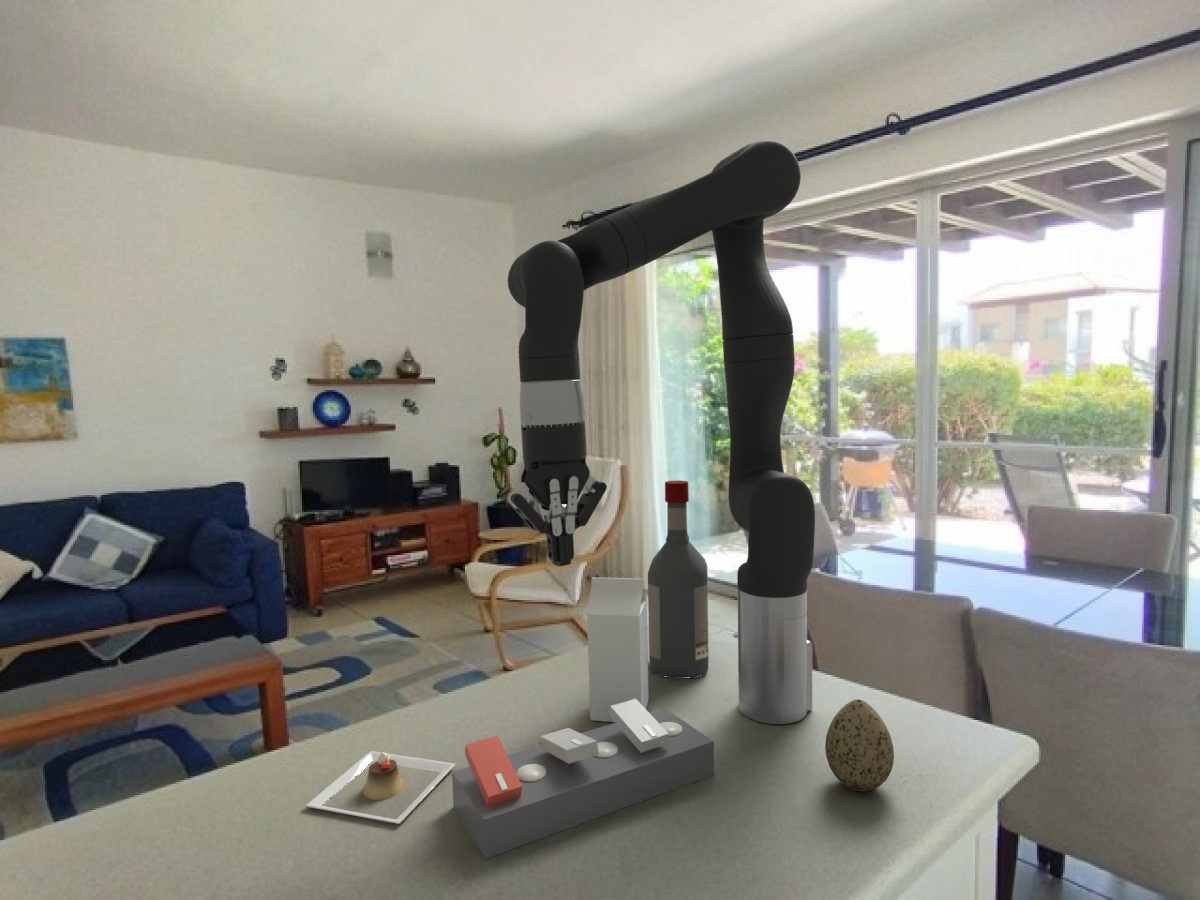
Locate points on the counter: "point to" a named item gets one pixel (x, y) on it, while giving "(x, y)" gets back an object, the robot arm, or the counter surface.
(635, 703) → the far rocker
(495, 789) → the red rocker
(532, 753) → the rocker switch box
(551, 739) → the middle rocker
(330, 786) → the dessert
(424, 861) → the counter surface
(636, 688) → the milk carton
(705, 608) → the liquor
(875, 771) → the decorative egg
